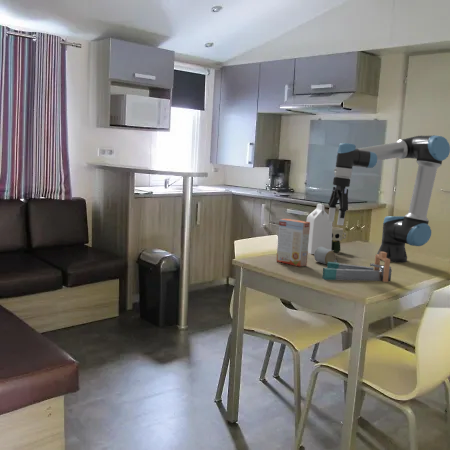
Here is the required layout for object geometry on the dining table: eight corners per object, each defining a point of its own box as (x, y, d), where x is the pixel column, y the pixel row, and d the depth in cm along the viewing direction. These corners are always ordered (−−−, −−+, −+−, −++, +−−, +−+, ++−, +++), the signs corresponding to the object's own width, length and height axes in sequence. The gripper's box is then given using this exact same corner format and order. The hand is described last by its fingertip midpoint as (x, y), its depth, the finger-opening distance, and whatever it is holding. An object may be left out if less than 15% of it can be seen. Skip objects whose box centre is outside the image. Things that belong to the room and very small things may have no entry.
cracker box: (307, 265, 244) (311, 221, 241) (299, 267, 240) (303, 222, 237) (283, 260, 253) (286, 217, 250) (275, 261, 249) (279, 218, 246)
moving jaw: (389, 278, 228) (391, 264, 227) (389, 281, 221) (391, 267, 220) (327, 270, 235) (328, 256, 234) (325, 273, 229) (326, 259, 228)
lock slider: (377, 276, 230) (380, 250, 229) (387, 282, 220) (390, 254, 218) (373, 275, 230) (376, 249, 228) (383, 281, 220) (386, 254, 218)
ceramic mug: (325, 266, 246) (326, 250, 245) (313, 262, 252) (314, 246, 251) (340, 264, 252) (342, 249, 251) (328, 261, 258) (329, 246, 257)
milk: (331, 254, 274) (335, 206, 271) (310, 254, 272) (314, 205, 268) (322, 250, 286) (326, 203, 282) (302, 249, 284) (306, 202, 280)
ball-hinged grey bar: (387, 278, 227) (388, 267, 226) (392, 281, 222) (393, 270, 221) (321, 277, 222) (322, 265, 222) (325, 280, 218) (326, 268, 217)
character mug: (322, 251, 283) (324, 227, 281) (326, 249, 289) (328, 226, 287) (342, 254, 278) (344, 230, 276) (346, 252, 284) (348, 228, 282)
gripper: (326, 175, 248) (319, 219, 251) (343, 177, 223) (336, 225, 226) (340, 177, 249) (334, 220, 251) (360, 179, 224) (352, 227, 227)
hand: (335, 223), depth 239 cm, fingers open, 13 cm apart
